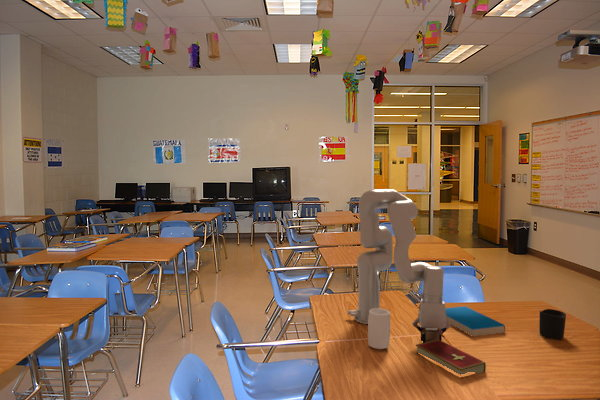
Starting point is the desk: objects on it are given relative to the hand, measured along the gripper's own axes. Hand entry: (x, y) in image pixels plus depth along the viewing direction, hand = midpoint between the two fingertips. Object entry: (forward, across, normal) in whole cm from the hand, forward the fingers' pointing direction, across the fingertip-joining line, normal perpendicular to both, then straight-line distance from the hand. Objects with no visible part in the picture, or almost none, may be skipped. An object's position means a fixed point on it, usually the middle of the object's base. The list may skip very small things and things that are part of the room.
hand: (430, 342), depth 163 cm
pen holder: (+1, +53, +14) cm, 55 cm away
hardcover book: (+1, +3, -15) cm, 16 cm away
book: (+1, +23, +24) cm, 33 cm away
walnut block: (+1, 0, 0) cm, 1 cm away
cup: (+1, -21, -5) cm, 22 cm away
